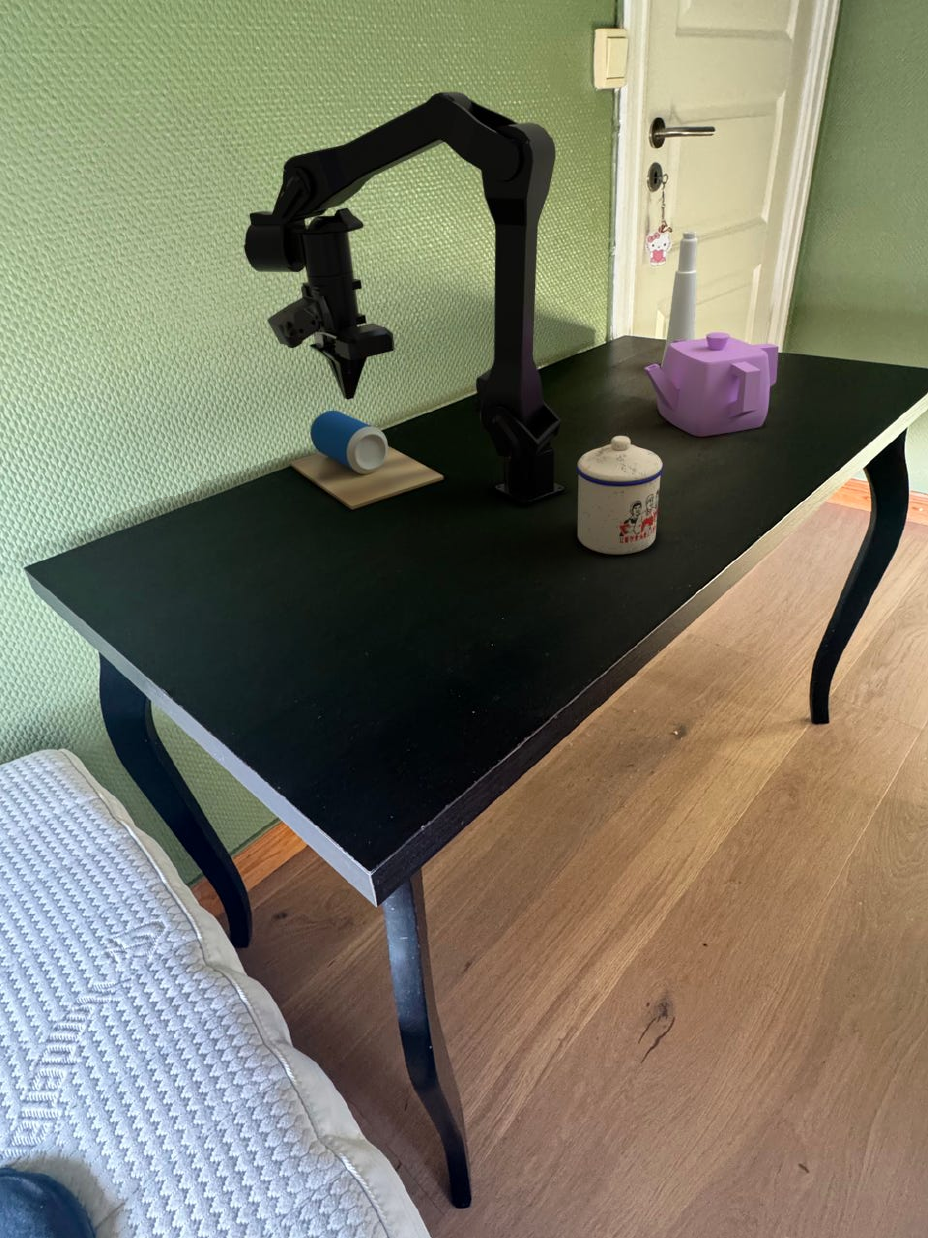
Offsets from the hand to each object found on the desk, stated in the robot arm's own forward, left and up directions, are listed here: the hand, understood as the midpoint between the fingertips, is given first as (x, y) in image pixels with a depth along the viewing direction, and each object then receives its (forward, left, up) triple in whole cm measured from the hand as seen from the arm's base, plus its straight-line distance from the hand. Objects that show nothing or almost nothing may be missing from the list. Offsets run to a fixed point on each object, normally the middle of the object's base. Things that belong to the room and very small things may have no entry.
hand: (349, 398), depth 102 cm
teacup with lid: (-38, -14, -10) cm, 42 cm away
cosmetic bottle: (+2, -66, -10) cm, 67 cm away
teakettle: (-19, -49, -10) cm, 54 cm away
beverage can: (-4, 0, -6) cm, 8 cm away
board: (-1, 0, -10) cm, 10 cm away
